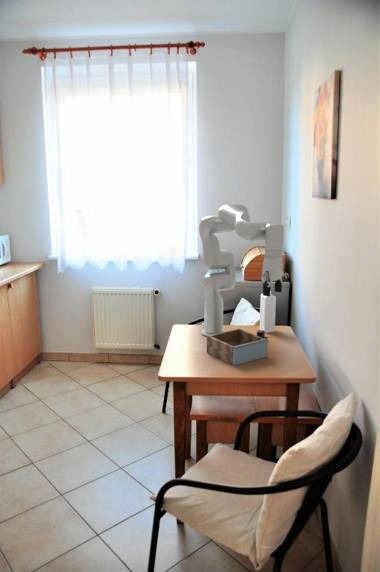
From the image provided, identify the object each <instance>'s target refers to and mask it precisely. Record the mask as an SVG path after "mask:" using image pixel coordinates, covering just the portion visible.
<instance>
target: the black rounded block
mask: <svg viewBox="0 0 380 572" xmlns="http://www.w3.org/2000/svg"><path fill="white" fill-rule="evenodd" d="M265 334H266V333H265V331H263V330H260V329H259V330H258V331H256V336H259V337H262V338H264V339H268V338H269V336H265Z"/></svg>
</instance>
